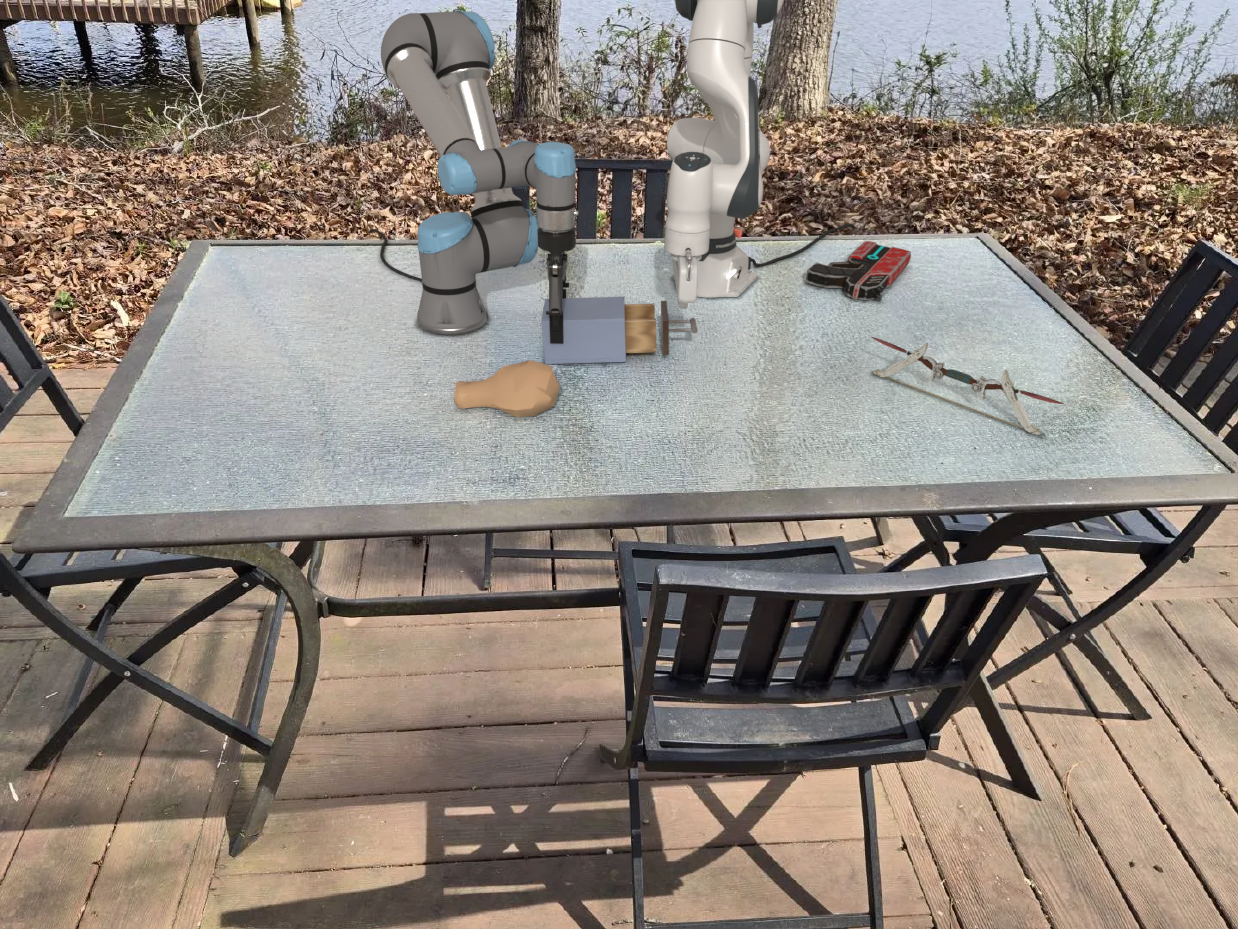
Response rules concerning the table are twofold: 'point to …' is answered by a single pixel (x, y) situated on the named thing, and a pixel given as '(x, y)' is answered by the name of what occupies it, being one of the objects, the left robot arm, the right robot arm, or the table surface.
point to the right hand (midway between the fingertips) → (682, 305)
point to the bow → (976, 386)
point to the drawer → (649, 328)
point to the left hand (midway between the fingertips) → (558, 330)
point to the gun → (862, 271)
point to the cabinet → (587, 331)
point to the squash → (512, 390)
